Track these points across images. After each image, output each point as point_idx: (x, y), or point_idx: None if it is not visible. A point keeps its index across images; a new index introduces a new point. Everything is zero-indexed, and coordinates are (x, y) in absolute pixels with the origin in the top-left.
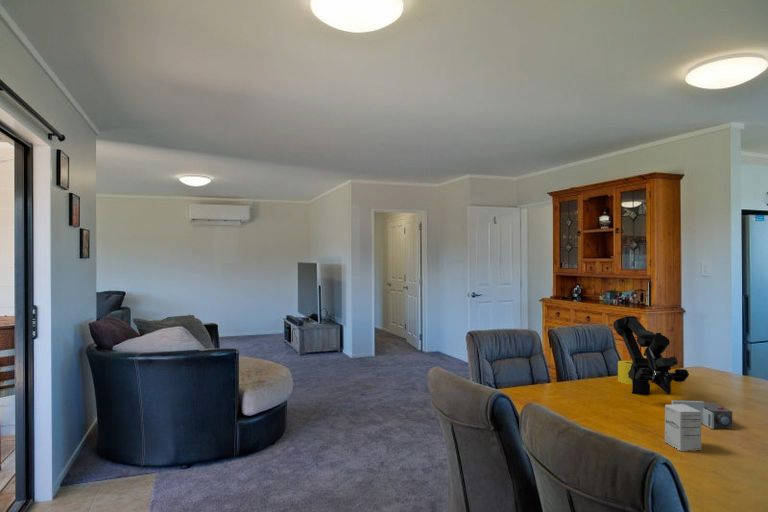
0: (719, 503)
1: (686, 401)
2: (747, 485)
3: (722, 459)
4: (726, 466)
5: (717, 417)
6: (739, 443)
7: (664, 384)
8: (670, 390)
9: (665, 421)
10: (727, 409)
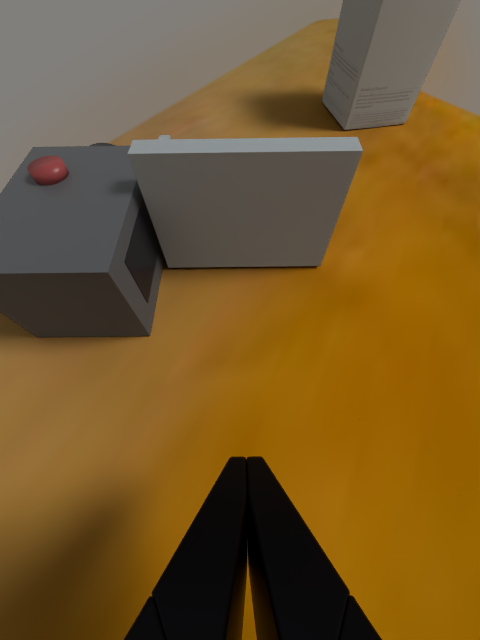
0: None
1: (258, 141)
2: (305, 39)
3: (294, 81)
4: (303, 66)
5: None
6: (182, 135)
7: (332, 616)
8: (218, 483)
9: (445, 29)
10: (25, 166)
